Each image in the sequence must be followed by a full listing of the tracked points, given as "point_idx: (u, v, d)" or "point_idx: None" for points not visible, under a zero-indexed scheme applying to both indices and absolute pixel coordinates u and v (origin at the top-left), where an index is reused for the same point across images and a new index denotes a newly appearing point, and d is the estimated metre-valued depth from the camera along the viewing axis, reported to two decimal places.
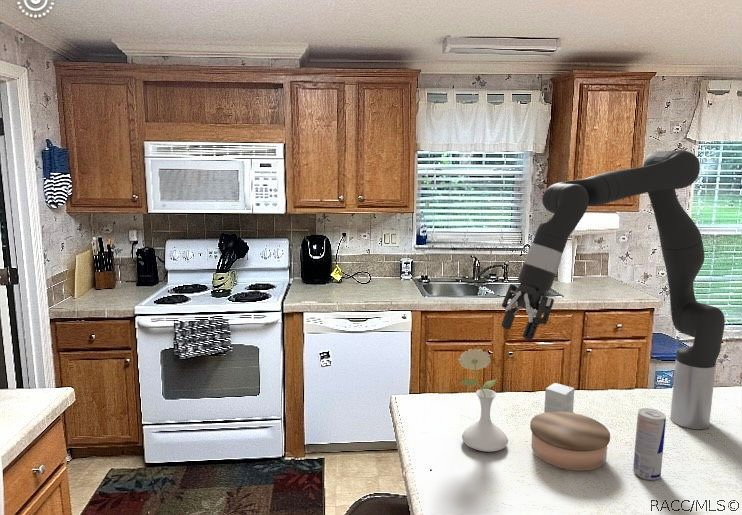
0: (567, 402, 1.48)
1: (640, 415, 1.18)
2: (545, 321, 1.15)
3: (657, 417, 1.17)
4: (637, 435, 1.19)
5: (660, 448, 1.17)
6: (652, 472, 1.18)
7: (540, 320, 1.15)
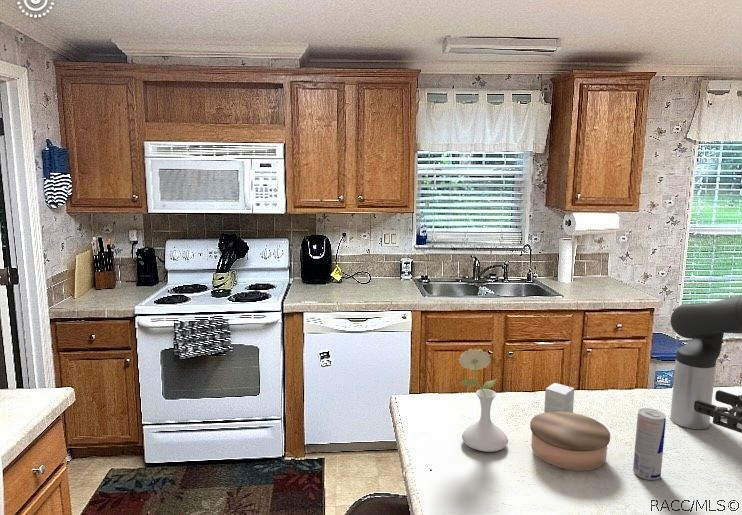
0: (567, 402, 1.48)
1: (640, 415, 1.18)
2: None
3: (657, 417, 1.17)
4: (637, 435, 1.19)
5: (660, 448, 1.17)
6: (652, 472, 1.18)
7: None
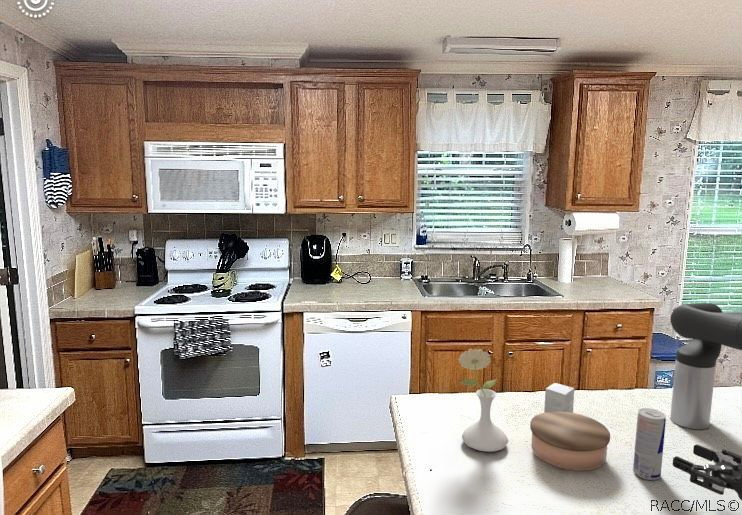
0: (567, 402, 1.48)
1: (640, 415, 1.18)
2: None
3: (657, 417, 1.17)
4: (637, 435, 1.19)
5: (660, 448, 1.17)
6: (652, 472, 1.18)
7: None
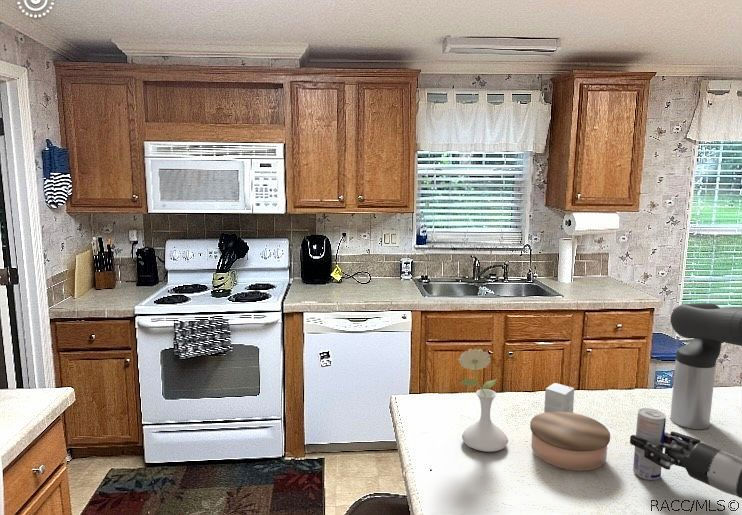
0: (567, 402, 1.48)
1: (640, 415, 1.18)
2: None
3: (657, 417, 1.17)
4: (637, 435, 1.19)
5: None
6: (652, 472, 1.18)
7: None
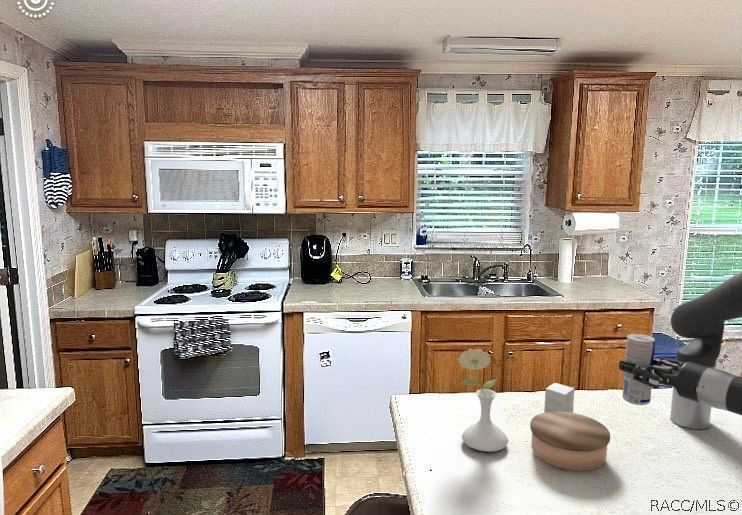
0: (567, 402, 1.48)
1: (629, 339, 1.17)
2: None
3: (646, 340, 1.15)
4: (626, 360, 1.18)
5: None
6: (641, 397, 1.16)
7: None
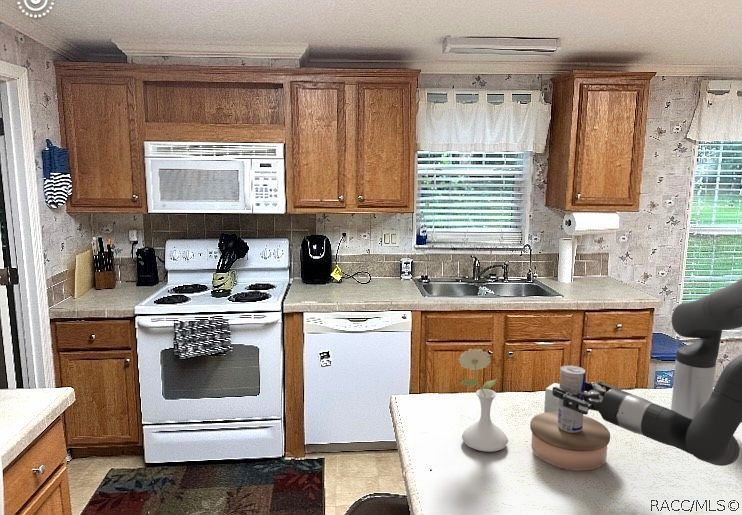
0: None
1: (562, 371, 1.25)
2: None
3: (576, 372, 1.23)
4: None
5: None
6: (573, 425, 1.24)
7: None
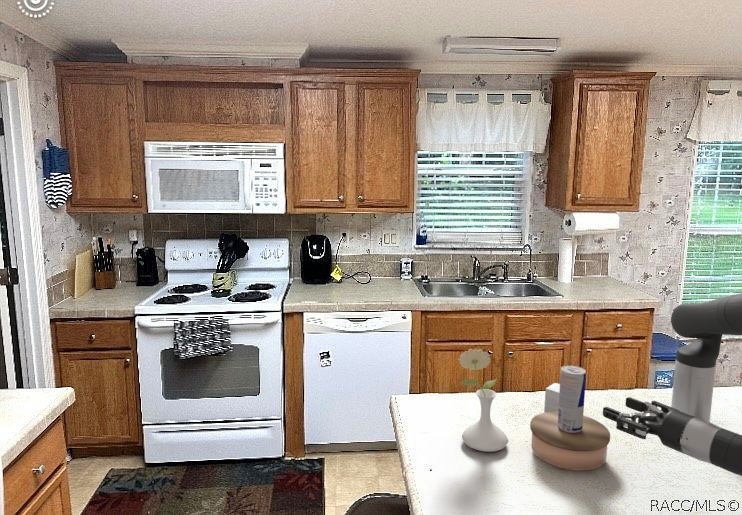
0: None
1: (562, 371, 1.25)
2: None
3: (577, 372, 1.23)
4: (560, 391, 1.26)
5: (580, 402, 1.23)
6: (573, 425, 1.24)
7: None
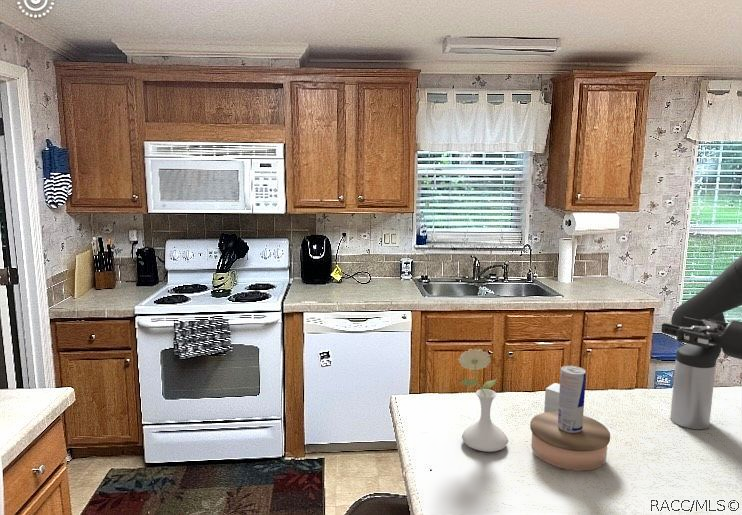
0: None
1: (562, 371, 1.25)
2: None
3: (577, 372, 1.23)
4: (560, 391, 1.26)
5: (580, 403, 1.23)
6: (573, 425, 1.24)
7: None
